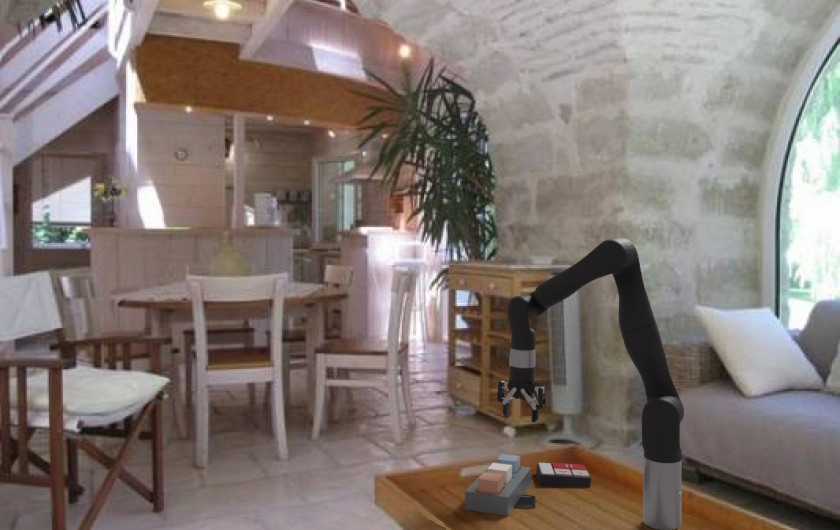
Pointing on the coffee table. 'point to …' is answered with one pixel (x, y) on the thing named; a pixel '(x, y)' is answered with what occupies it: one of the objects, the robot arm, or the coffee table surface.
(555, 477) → the calculator
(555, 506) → the coffee table surface
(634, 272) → the robot arm
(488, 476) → the terracotta key
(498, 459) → the slate key
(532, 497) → the phone
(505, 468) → the white key
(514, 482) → the key panel
